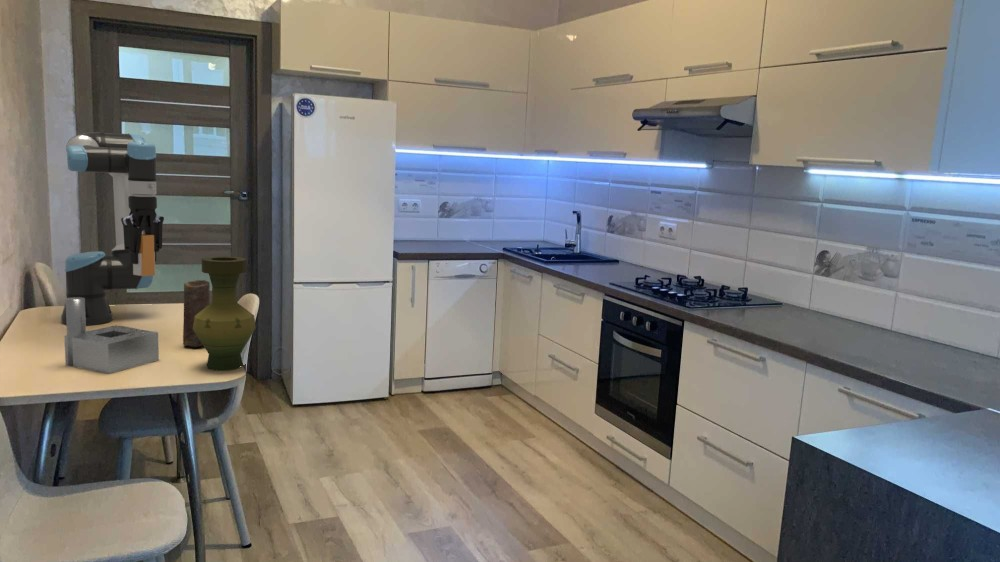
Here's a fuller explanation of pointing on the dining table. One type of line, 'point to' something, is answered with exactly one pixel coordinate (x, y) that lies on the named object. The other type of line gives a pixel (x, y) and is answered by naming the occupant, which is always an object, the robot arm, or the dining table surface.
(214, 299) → the vase
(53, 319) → the dining table surface
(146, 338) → the grey block with cylinder
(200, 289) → the candle
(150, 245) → the orange rectangular block
